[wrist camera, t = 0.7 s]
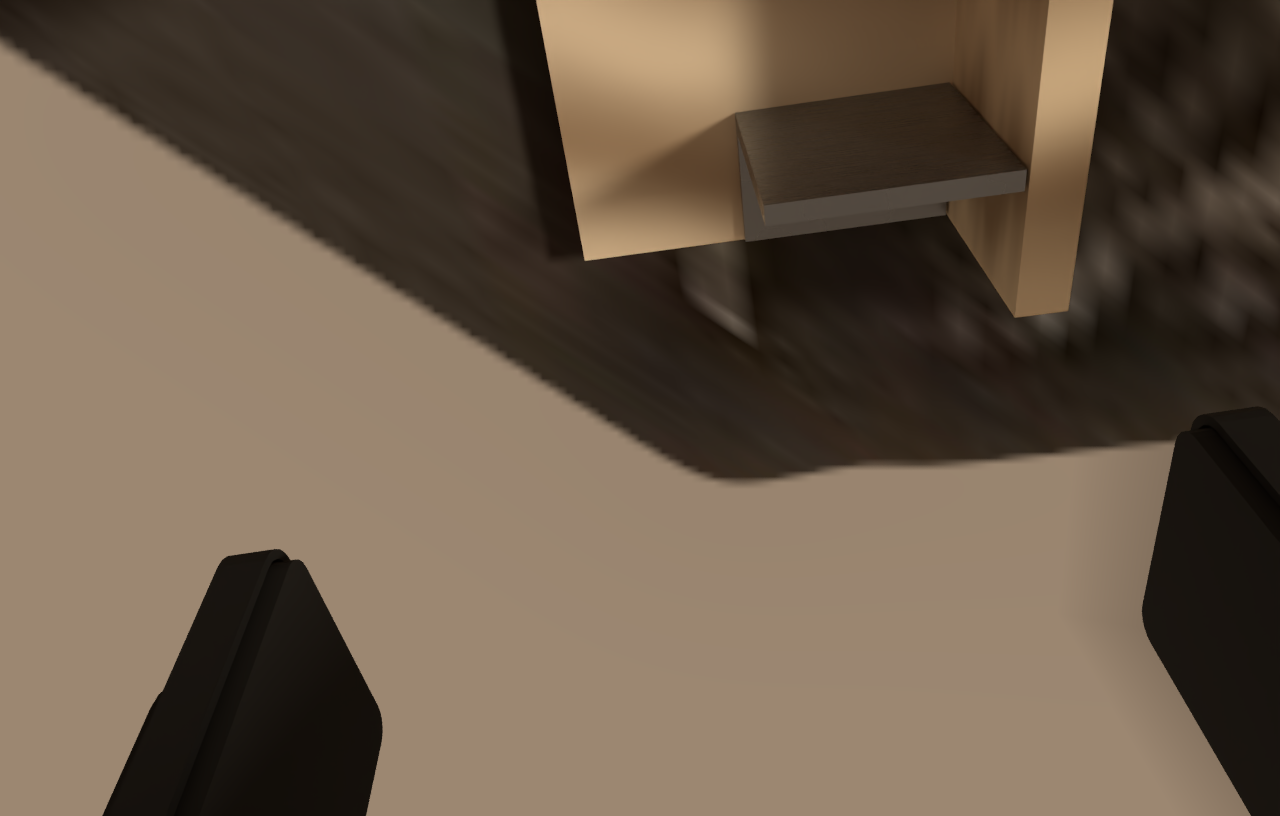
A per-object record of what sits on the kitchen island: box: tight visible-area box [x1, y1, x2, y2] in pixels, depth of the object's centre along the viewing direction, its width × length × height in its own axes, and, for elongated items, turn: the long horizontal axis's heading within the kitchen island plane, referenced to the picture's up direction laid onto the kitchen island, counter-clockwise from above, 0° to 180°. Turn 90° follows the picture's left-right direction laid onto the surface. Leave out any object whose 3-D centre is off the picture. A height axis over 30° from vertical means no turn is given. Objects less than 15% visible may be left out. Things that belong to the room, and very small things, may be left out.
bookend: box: [735, 82, 1027, 242], centre depth 30 cm, size 4×7×7 cm, turn 98°
